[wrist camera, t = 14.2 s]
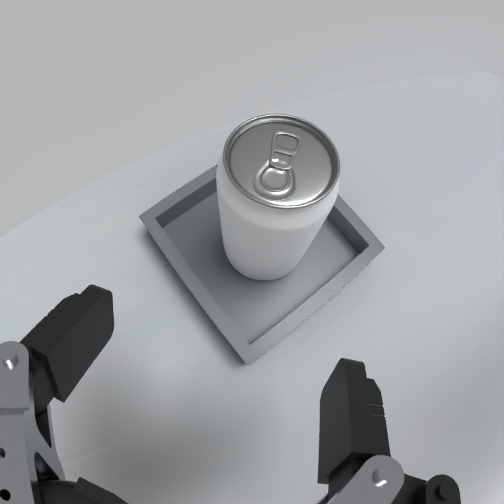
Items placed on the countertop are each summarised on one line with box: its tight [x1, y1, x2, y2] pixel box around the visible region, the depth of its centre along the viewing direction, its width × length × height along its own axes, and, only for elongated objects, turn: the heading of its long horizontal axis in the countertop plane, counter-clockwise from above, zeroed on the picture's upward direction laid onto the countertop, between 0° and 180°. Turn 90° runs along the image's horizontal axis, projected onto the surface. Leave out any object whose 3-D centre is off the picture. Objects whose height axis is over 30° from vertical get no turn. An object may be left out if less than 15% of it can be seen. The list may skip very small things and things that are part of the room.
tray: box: [139, 164, 385, 366], centre depth 25 cm, size 14×14×3 cm
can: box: [216, 114, 340, 281], centre depth 20 cm, size 6×6×12 cm
